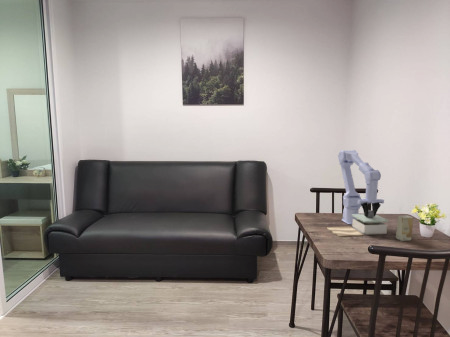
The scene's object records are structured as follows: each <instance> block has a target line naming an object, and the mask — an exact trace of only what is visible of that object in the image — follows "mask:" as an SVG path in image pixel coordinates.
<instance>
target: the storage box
mask: <svg viewBox="0 0 450 337" xmlns="http://www.w3.org/2000/svg"><path fill="white" fill-rule="evenodd" d="M351 226H352V227H351V228H353V229H355V230H356V231H358V232H360V233H361V234H363V236H364V235H386V234H387V232H388V224H386V223H385V222H370V223H365V222H363V221H361V220H359V219H353V223H352V224H351Z"/></svg>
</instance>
